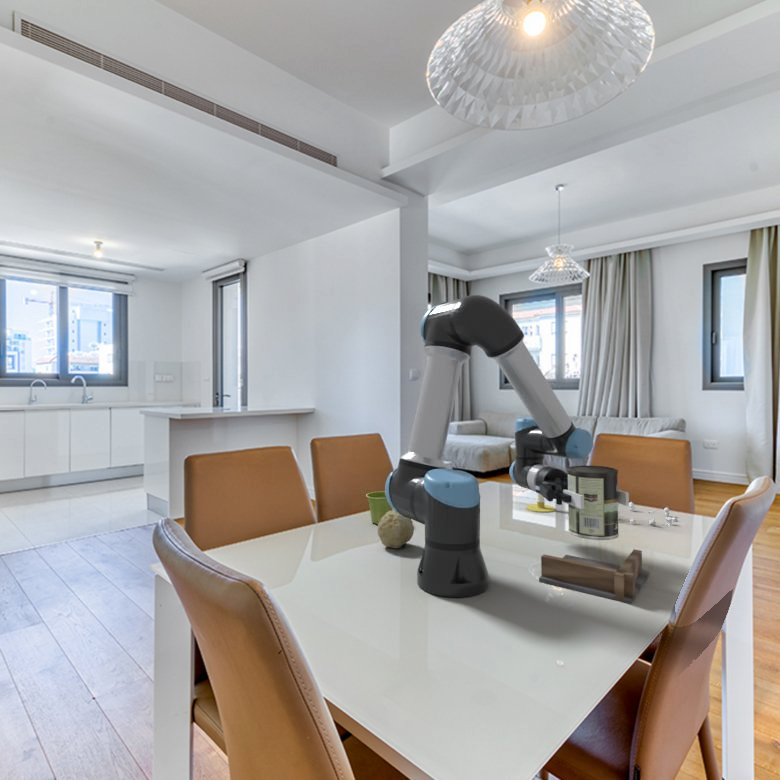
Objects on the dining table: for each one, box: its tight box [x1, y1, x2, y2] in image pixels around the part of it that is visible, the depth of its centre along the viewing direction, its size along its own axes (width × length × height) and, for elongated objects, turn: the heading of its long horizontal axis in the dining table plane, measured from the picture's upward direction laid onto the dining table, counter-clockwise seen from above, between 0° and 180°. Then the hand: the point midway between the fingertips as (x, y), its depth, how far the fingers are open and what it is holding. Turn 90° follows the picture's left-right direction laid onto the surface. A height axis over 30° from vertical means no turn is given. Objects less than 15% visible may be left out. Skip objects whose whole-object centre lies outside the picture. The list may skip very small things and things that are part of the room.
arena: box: [538, 548, 650, 605], centre depth 105 cm, size 18×18×5 cm
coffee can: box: [566, 465, 620, 541], centre depth 105 cm, size 10×10×14 cm
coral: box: [377, 510, 415, 549], centre depth 128 cm, size 10×10×10 cm
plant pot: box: [365, 491, 393, 525], centre depth 151 cm, size 9×9×9 cm
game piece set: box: [618, 501, 678, 526], centre depth 152 cm, size 19×20×4 cm
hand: (605, 500), depth 101 cm, fingers closed on coffee can, 10 cm apart
